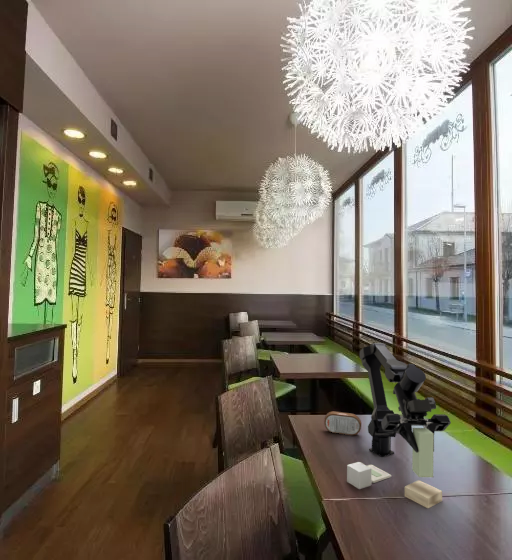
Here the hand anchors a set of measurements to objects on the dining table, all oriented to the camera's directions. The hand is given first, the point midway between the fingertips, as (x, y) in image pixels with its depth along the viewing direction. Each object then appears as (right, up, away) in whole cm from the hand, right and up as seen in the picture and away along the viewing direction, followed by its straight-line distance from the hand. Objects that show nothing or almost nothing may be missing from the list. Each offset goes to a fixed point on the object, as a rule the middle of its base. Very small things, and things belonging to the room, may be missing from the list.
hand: (425, 452), depth 101 cm
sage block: (0, -7, +1) cm, 7 cm away
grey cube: (-16, -14, +8) cm, 23 cm away
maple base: (0, -14, +1) cm, 14 cm away
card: (-10, -14, +14) cm, 22 cm away
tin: (-12, -16, +48) cm, 52 cm away
